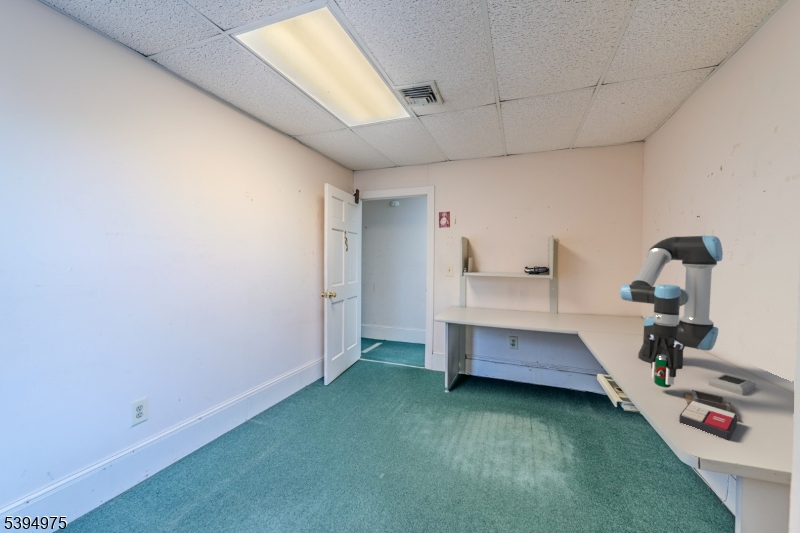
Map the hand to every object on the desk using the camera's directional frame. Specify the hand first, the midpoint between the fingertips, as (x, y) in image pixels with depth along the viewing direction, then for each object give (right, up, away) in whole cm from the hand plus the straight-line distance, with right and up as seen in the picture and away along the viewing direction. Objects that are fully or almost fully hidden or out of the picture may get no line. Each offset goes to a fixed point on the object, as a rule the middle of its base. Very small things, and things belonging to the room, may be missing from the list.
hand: (662, 380), depth 117 cm
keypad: (+35, -6, +6) cm, 36 cm away
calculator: (-5, -6, -22) cm, 23 cm away
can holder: (+7, -5, -11) cm, 14 cm away
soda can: (0, -2, 0) cm, 2 cm away
